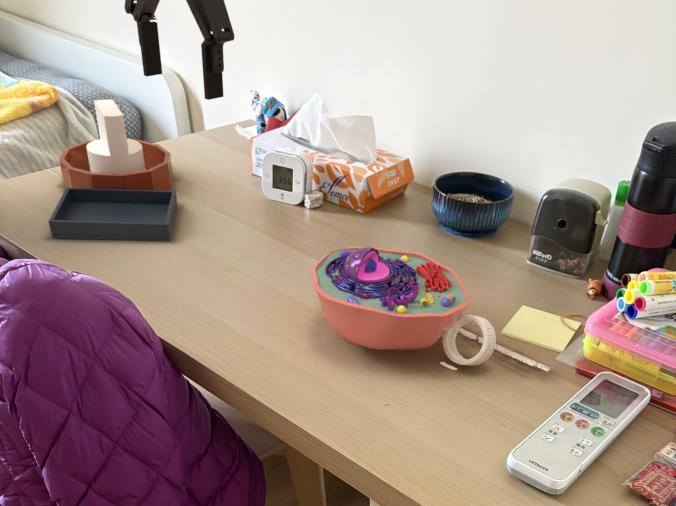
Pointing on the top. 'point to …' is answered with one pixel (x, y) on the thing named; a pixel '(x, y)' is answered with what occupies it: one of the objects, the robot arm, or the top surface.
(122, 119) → the base with upright slab
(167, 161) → the terracotta bowl
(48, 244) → the top surface
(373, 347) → the cell model
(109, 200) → the tray
